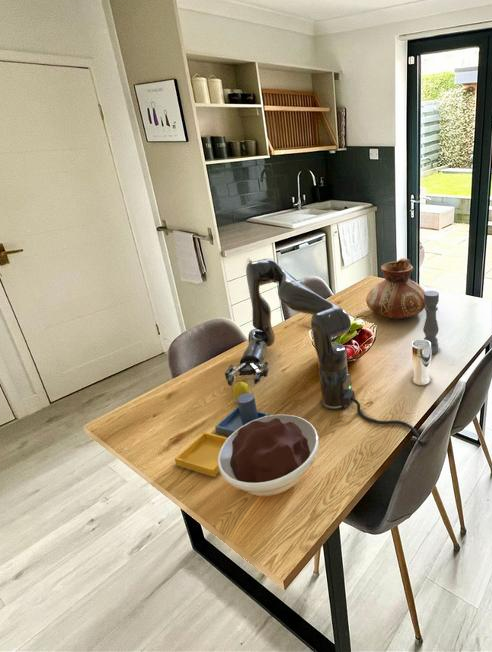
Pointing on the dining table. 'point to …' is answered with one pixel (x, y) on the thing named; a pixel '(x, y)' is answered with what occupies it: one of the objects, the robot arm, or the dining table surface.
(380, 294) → the painted clay pot
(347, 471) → the dining table surface
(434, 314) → the grey pepper mill
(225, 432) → the blue tray
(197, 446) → the yellow tray
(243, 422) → the blue cylinder
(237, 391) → the lemon
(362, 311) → the dining table surface
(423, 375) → the silver metal cylinder
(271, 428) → the white serving bowl
